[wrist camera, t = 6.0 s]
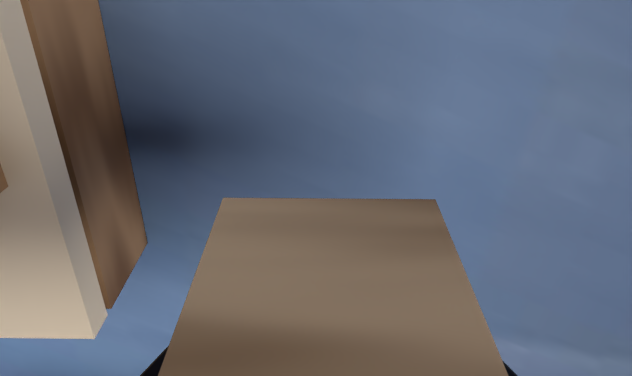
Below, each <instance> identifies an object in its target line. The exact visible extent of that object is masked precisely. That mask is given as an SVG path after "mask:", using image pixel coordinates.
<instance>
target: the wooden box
mask: <svg viewBox="0 0 632 376" xmlns="http://www.w3.org/2000/svg"><path fill="white" fill-rule="evenodd" d="M20 2H21V6H22V9H23V13H24V16H25V20H26V23H27V27H28V31H29V34H30V38H31V41H32V45H33V49H34V52H35V56H36V59H37V63H38V67H39V70H40V74H41V77H42V81H43V85H44V88H45V92H46V95H47V99H48V103H49V106H50V110H51V113H52V117H53V121H54V124H55V128H56V131H57V135H58V139H59V142H60V146H61V149H62V153H63V157H64V160H65V164H66V167H67V171H68V175H69V178H70V182H71V185H72V189H73V193H74V196H75V200H76V203H77V207H78V210H79V214H80V218H81V221H82V225H83V228H84V232H85V236H86V239H87V243H88V246H89V250H90V254H91V257H92V261H93V264H94V268H95V272H96V275H97V279H98V282H99V286H100V290H101V293H102V297H103V300H104V304H105V308H106V309H111V308H112V306H113V305H114V303H115V301H116V299H117V297H118V296H119V294H120V292H121V290H122V288H123V286H124V285H125V283H126V281H127V279H128V277H129V276H130V274H131V272H132V270H133V268H134V266H135V265H136V263H137V261H138V259H139V257H140V256H141V254H142V252H143V250H144V248H145V246H146V245H147V243H148V242H147V237H146V233H145V228H144V223H143V218H142V213H141V208H140V203H139V198H138V193H137V189H136V184H135V179H134V174H133V169H132V164H131V159H130V154H129V149H128V145H127V140H126V135H125V130H124V125H123V120H122V115H121V110H120V105H119V101H118V96H117V91H116V86H115V81H114V76H113V71H112V66H111V61H110V56H109V52H108V47H107V42H106V37H105V32H104V27H103V22H102V17H101V12H100V8H99V3H98V0H20Z"/></svg>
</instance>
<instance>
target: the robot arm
mask: <svg viewBox="0 0 632 376" xmlns="http://www.w3.org/2000/svg"><path fill="white" fill-rule="evenodd" d="M168 347H169V346H168ZM168 347H167V348H166V349H165V350H164V351H163V352H162V353H161V354H160V355H159V356H158V357H157V358H156V359H155V360H154V362H153V363H152V364H151V365H150V366H149V367H148V368H147V369H146V370H145V371H144V372H143V373H142V374H141V375H140V376H158V374H159V371H160V369H161V366H162V363H163V361H164V358H165V355H166V352H167V350H168ZM503 364H504V366H505V369H506V371H507V373H508V376H517V375H516V374H515V373H514V372H513V371H512V370H511V369H510V368H509V367H508V366H507V365H506V364H505V363H504V362H503Z"/></svg>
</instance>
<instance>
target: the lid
mask: <svg viewBox="0 0 632 376" xmlns="http://www.w3.org/2000/svg"><path fill="white" fill-rule="evenodd" d="M106 317H107V311H106V308H105V304H104V300H103V297H102V293H101V290H100V286H99V282H98V279H97V275H96V272H95V268H94V264H93V261H92V257H91V254H90V250H89V246H88V243H87V239H86V236H85V232H84V228H83V225H82V221H81V218H80V214H79V210H78V207H77V203H76V200H75V196H74V193H73V189H72V185H71V182H70V178H69V175H68V171H67V167H66V164H65V160H64V157H63V153H62V149H61V146H60V142H59V139H58V135H57V131H56V128H55V124H54V121H53V117H52V113H51V110H50V106H49V103H48V99H47V95H46V92H45V88H44V85H43V81H42V77H41V74H40V70H39V67H38V63H37V59H36V56H35V52H34V49H33V45H32V41H31V38H30V34H29V31H28V27H27V23H26V20H25V16H24V13H23V9H22V6H21V2H20V0H0V338H62V339H95V337H96V335H97V334H98V332H99V330H100V328H101V326H102V325H103V323H104V321H105V319H106Z"/></svg>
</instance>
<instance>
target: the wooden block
mask: <svg viewBox="0 0 632 376" xmlns="http://www.w3.org/2000/svg"><path fill="white" fill-rule="evenodd" d="M158 376H508V373H507V371H506V369H505V366H504V364H503V361H502V359H501V357H500V354H499V352H498V349H497V347H496V345H495V342H494V340H493V337H492V335H491V333H490V330H489V328H488V325H487V323H486V320H485V318H484V316H483V313H482V311H481V308H480V306H479V304H478V301H477V299H476V296H475V294H474V292H473V289H472V287H471V284H470V282H469V280H468V277H467V275H466V272H465V270H464V267H463V265H462V263H461V260H460V258H459V255H458V253H457V251H456V248H455V246H454V243H453V241H452V239H451V236H450V234H449V231H448V229H447V227H446V224H445V222H444V219H443V217H442V214H441V212H440V210H439V207H438V205H437V202H436V200H435V199H318V198H223V199H222V202H221V205H220V208H219V210H218V213H217V216H216V219H215V221H214V224H213V227H212V229H211V232H210V235H209V238H208V240H207V243H206V246H205V249H204V251H203V254H202V257H201V259H200V262H199V265H198V268H197V270H196V273H195V276H194V279H193V281H192V284H191V287H190V290H189V292H188V295H187V298H186V300H185V303H184V306H183V309H182V311H181V314H180V317H179V320H178V322H177V325H176V328H175V330H174V333H173V336H172V339H171V341H170V344H169V347H168V350H167V352H166V355H165V358H164V361H163V363H162V366H161V369H160V371H159V374H158Z"/></svg>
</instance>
